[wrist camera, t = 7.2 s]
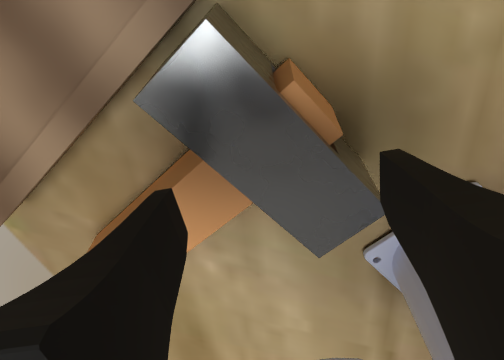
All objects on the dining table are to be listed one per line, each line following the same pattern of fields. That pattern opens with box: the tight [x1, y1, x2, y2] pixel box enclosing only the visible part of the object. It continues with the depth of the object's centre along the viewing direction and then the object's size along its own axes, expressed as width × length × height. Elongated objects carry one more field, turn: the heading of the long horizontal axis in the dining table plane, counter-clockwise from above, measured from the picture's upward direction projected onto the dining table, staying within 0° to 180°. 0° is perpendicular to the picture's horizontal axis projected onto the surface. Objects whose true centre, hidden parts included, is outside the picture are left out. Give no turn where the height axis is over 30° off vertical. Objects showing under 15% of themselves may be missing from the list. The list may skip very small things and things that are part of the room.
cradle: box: [0, 0, 196, 226], centre depth 15 cm, size 20×8×3 cm, turn 134°
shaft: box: [88, 58, 343, 252], centre depth 19 cm, size 16×3×3 cm, turn 134°
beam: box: [133, 3, 385, 258], centre depth 17 cm, size 11×4×5 cm, turn 44°
